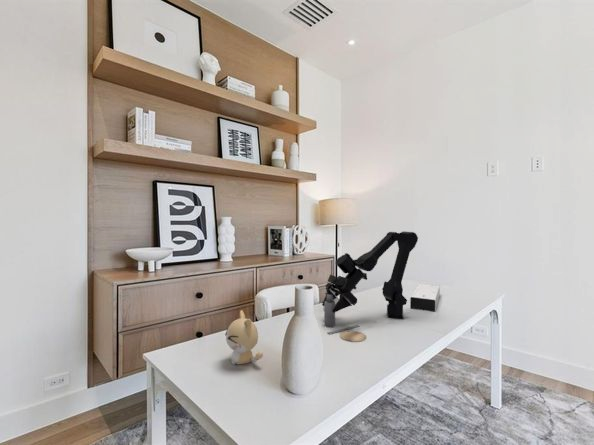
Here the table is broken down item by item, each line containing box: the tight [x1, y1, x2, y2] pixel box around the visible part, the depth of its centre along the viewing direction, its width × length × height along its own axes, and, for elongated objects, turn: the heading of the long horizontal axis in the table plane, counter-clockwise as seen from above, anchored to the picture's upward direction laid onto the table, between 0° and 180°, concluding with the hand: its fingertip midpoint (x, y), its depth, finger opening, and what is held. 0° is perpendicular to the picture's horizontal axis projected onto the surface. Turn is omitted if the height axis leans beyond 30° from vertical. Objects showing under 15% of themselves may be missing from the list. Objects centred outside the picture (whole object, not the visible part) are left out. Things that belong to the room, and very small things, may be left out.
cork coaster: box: [339, 330, 367, 343], centre depth 121 cm, size 10×10×1 cm
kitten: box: [225, 309, 264, 366], centre depth 100 cm, size 15×10×15 cm
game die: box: [321, 292, 340, 305], centre depth 155 cm, size 9×8×10 cm
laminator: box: [409, 283, 441, 313], centre depth 168 cm, size 34×12×6 cm, turn 152°
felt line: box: [327, 324, 361, 336], centre depth 127 cm, size 16×2×1 cm, turn 123°
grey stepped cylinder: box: [323, 294, 336, 328], centre depth 132 cm, size 4×4×13 cm
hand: (327, 308), depth 132 cm, fingers open, 9 cm apart
